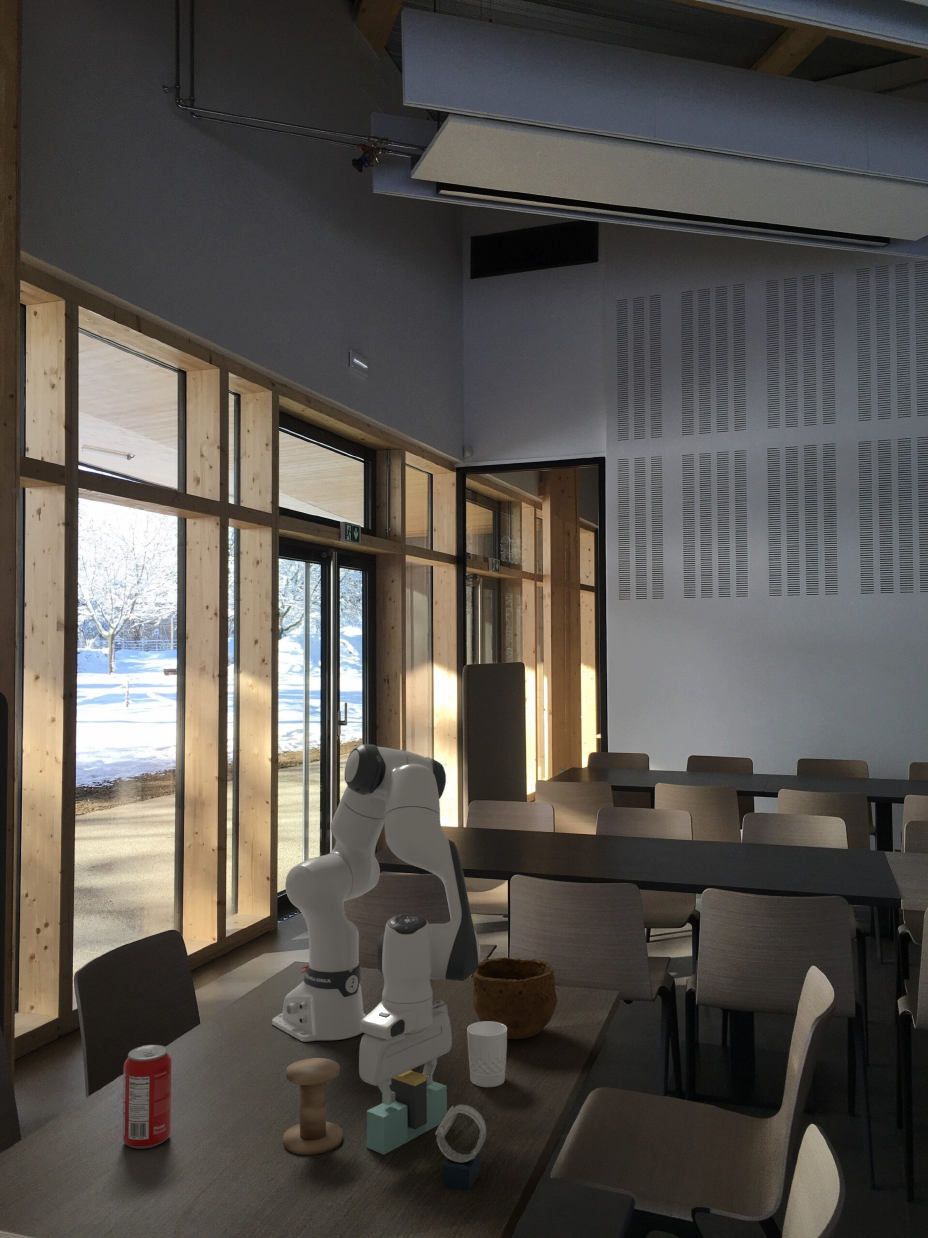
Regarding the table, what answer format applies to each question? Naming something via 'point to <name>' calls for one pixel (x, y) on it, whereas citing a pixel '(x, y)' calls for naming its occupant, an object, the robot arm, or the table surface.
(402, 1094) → the yellow and black block
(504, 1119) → the table surface
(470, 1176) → the watch
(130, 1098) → the soda can
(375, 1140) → the notch board
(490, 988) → the bowl
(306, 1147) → the bobbin
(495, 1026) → the white cup
